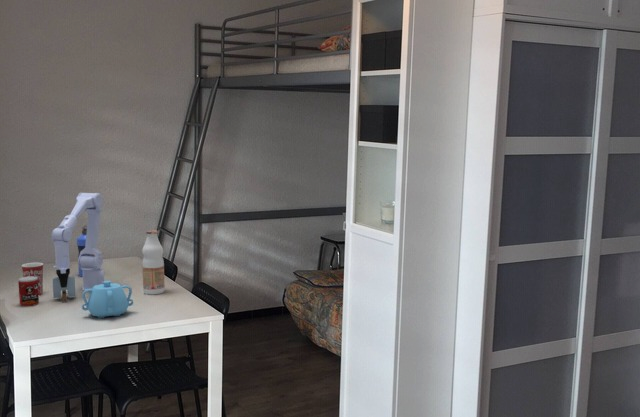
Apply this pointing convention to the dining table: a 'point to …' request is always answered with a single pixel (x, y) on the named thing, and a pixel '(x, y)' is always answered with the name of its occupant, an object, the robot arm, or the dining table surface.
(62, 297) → the rail
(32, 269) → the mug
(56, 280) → the slim blue-grey slab
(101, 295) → the decorative pot
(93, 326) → the dining table surface
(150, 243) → the fruit juice
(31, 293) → the canned food
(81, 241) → the water bottle
